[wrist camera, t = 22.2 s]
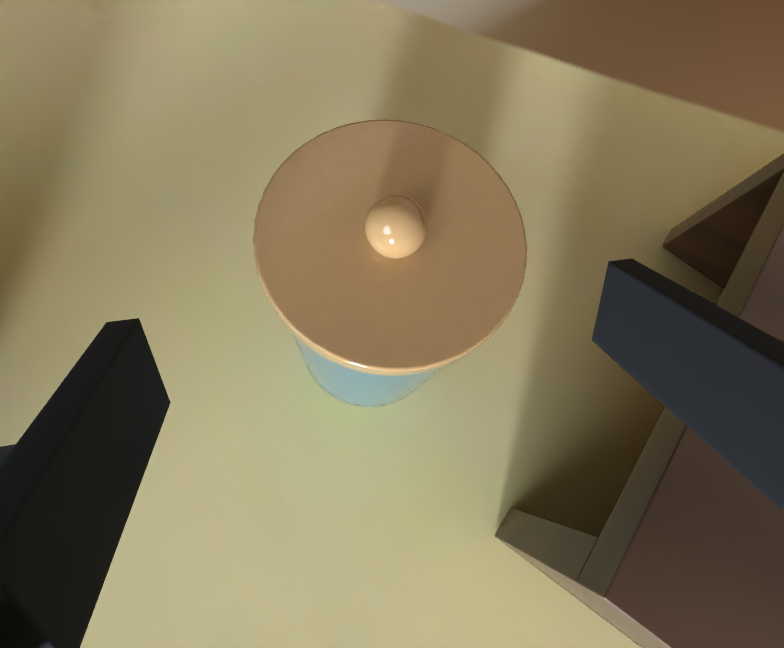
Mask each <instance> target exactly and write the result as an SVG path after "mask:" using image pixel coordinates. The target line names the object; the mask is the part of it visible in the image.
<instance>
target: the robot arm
mask: <svg viewBox="0 0 784 648" xmlns="http://www.w3.org/2000/svg"><path fill="white" fill-rule="evenodd" d="M592 341H593V342H594V343H596V344H597V345H598V346H599V347H600V348H601V349H602V350H603V351H604V352H606V353H607V354H608V355H609V356H610V357H611V358H612V359H613V360H614V361H616V362H617V363H618V364H619V365H620V366H621V367H622V368H623V369H624V370H626V371H627V372H628V373H629V374H630V375H631V376H632V377H633V378H634V379H636V380H637V381H638V382H639V383H640V384H641V385H642V386H643V387H644V388H646V389H647V390H648V391H649V392H650V393H651V394H652V395H653V396H654V397H656V398H657V399H658V400H659V401H660V402H661V403H662V404H663V405H664V406H666V407H667V408H668V409H669V410H670V411H671V412H672V413H673V414H674V415H676V416H677V417H678V418H679V419H680V420H681V421H682V422H683V423H684V424H686V425H687V426H688V427H689V428H690V429H691V430H692V431H693V432H694V433H696V434H697V435H698V436H699V437H700V438H701V439H702V440H703V441H704V442H706V443H707V444H708V445H709V446H710V447H711V448H712V449H713V450H714V451H716V452H717V453H718V454H719V455H720V456H721V457H722V458H723V459H724V460H726V461H727V462H728V463H729V464H730V465H731V466H732V467H733V468H734V469H736V470H737V471H738V472H739V473H740V474H741V475H742V476H743V477H745V478H746V479H747V480H748V481H749V482H750V483H751V484H752V485H753V486H755V487H756V488H757V489H758V490H759V491H760V492H761V493H762V494H763V495H765V496H766V497H767V498H768V499H769V500H770V501H771V502H772V503H773V504H775V505H776V506H777V507H778V508H779V509H780V510H784V341H783V340H781V339H778V338H776V337H773V336H771V335H769V334H767V333H766V332H764V331H762V330H760V329H758V328H757V327H755V326H753V325H751V324H749V323H748V322H746V321H744V320H742V319H740V318H739V317H737V316H735V315H733V314H731V313H729V312H728V311H726V310H724V309H722V308H720V307H719V306H717V305H715V304H713V303H711V302H710V301H708V300H706V299H704V298H702V297H701V296H699V295H697V294H695V293H693V292H691V291H690V290H688V289H686V288H684V287H682V286H681V285H679V284H677V283H675V282H673V281H672V280H670V279H668V278H666V277H664V276H663V275H661V274H659V273H657V272H655V271H653V270H652V269H650V268H648V267H646V266H644V265H643V264H641V263H639V262H637V261H635V260H634V259H625V260H617V261H609V263H608V267H607V272H606V276H605V281H604V286H603V290H602V295H601V300H600V304H599V309H598V314H597V318H596V323H595V328H594V332H593V337H592ZM169 405H170V400H169V398H168V395H167V392H166V390H165V387H164V384H163V381H162V379H161V376H160V373H159V371H158V368H157V365H156V363H155V360H154V357H153V355H152V352H151V349H150V347H149V344H148V341H147V339H146V336H145V333H144V331H143V328H142V325H141V322H140V320H139V318H137V319H129V320H121V321H113V322H106V324H105V325H104V326H103V328H102V329H101V331H100V332H99V333H98V335H97V336H96V337H95V339H94V340H93V341H92V343H91V344H90V345H89V347H88V348H87V349H86V351H85V352H84V353H83V355H82V356H81V358H80V359H79V360H78V362H77V363H76V364H75V366H74V367H73V368H72V370H71V371H70V372H69V374H68V375H67V376H66V378H65V379H64V380H63V382H62V383H61V384H60V386H59V387H58V389H57V390H56V391H55V393H54V394H53V395H52V397H51V398H50V399H49V401H48V402H47V403H46V405H45V406H44V407H43V409H42V410H41V411H40V413H39V414H38V415H37V417H36V418H35V420H34V421H33V422H32V424H31V425H30V426H29V428H28V429H27V430H26V432H25V433H24V434H23V436H22V437H21V438H20V440H19V441H18V442H17V444H16V445H9V446H3V447H0V648H80V646H81V643H82V640H83V637H84V635H85V632H86V629H87V627H88V624H89V621H90V618H91V616H92V613H93V610H94V608H95V605H96V602H97V600H98V597H99V594H100V591H101V589H102V586H103V583H104V581H105V578H106V575H107V572H108V570H109V567H110V564H111V562H112V559H113V556H114V554H115V551H116V548H117V545H118V543H119V540H120V537H121V535H122V532H123V529H124V527H125V524H126V521H127V518H128V516H129V513H130V510H131V508H132V505H133V502H134V499H135V497H136V494H137V491H138V489H139V486H140V483H141V481H142V478H143V475H144V472H145V470H146V467H147V464H148V462H149V459H150V456H151V454H152V451H153V448H154V445H155V443H156V440H157V437H158V435H159V432H160V429H161V426H162V424H163V421H164V418H165V416H166V413H167V410H168V408H169Z"/></svg>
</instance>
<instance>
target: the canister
mask: <svg viewBox="0 0 784 648" xmlns="http://www.w3.org/2000/svg"><path fill="white" fill-rule="evenodd" d="M253 246H254V258H255V262H256V267H257V272H258V275H259V278H260V280H261V283H262V286H263V288H264V291H265V293H266V295H267V297H268V299H269V300H270V302H271V304H272V306H273V308H274V310H275V311H276V313H277V315H278V316H279V317H280V319H281V320H282V321H283V323H284V324H285V325H286V327H287V328H288V329H289V330H290V331H291V332H292V334H293V336H294V338H295V341H296V343H297V345H298V347H299V350H300V352H301V354H302V357H303V359H304V361H305V363H306V366H307V368H308V370H309V371H310V373H311V375H312V376H313V378H314V379H315V380H316V382H317V383H318V384H319V385H320V386H321V387H322V388H323V389H324V390H326V391H327V392H328V393H329V394H331V395H332V396H334V397H336V398H337V399H340V400H342V401H344V402H347V403H350V404H354V405H359V406H381V405H386V404H390V403H393V402H396V401H398V400H400V399H402V398H404V397H406V396H407V395H409V394H410V393H411V392H413V391H414V390H415V389H417V388H418V387H419V386H420V385H421V384H422V383H424V382H425V381H426V380H427V379H428V378H429V377H431V376H432V375H433V374H434V373H435V372H436V371H438V370H439V369H440V368H441V367H443V366H446V365H448V364H450V363H453V362H455V361H457V360H458V359H460V358H462V357H463V356H465V355H467V354H468V353H470V352H471V351H472V350H474V349H475V348H476V347H477V346H479V345H480V344H481V343H483V342H484V341H485V340H486V339H488V338H489V337H490V336H491V335H492V334H493V333H494V332H495V331H496V329H497V328H498V327H499V326H500V325H501V324H502V322H503V321H504V320H505V318H506V317H507V315H508V314H509V313H510V311H511V309H512V307H513V305H514V303H515V301H516V299H517V297H518V295H519V292H520V289H521V286H522V283H523V279H524V273H525V268H526V253H527V247H526V237H525V230H524V226H523V221H522V217H521V215H520V212H519V209H518V207H517V204H516V202H515V200H514V198H513V196H512V194H511V192H510V190H509V188H508V187H507V185H506V184H505V183H504V181H503V180H502V178H501V177H500V175H499V174H498V173H497V172H496V171H495V170H494V169H493V167H492V166H491V165H490V164H489V163H488V162H487V161H486V160H485V159H483V158H482V157H481V156H480V155H479V154H478V153H477V152H475V151H474V150H473V149H471V148H470V147H468V146H467V145H465V144H464V143H463V142H461V141H459V140H457V139H455V138H453V137H452V136H450V135H448V134H445V133H443V132H441V131H438V130H436V129H433V128H430V127H427V126H423V125H420V124H416V123H410V122H404V121H394V120H370V121H363V122H356V123H351V124H347V125H344V126H340V127H337V128H334V129H332V130H329V131H327V132H324V133H322V134H320V135H318V136H317V137H315V138H313V139H311V140H309V141H308V142H306V143H305V144H304V145H302V146H301V147H300V148H298V149H297V150H296V151H294V152H293V153H292V154H291V155H290V156H289V157H288V158H287V159H286V160H285V161H284V162H283V163H282V164H281V166H280V167H279V168H278V170H277V171H276V172H275V173H274V175H273V176H272V178H271V180H270V181H269V183H268V185H267V187H266V188H265V190H264V193H263V195H262V198H261V200H260V203H259V205H258V209H257V213H256V217H255V222H254V233H253Z"/></svg>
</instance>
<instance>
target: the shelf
mask: <svg viewBox="0 0 784 648" xmlns="http://www.w3.org/2000/svg"><path fill="white" fill-rule="evenodd" d="M663 247H664V248H665V249H667V250H668V251H670V252H671V253H673V254H674V255H675V256H677V257H678V258H680V259H681V260H683V261H684V262H686V263H687V264H689V265H690V266H692V267H693V268H695V269H696V270H698V271H699V272H701V273H702V274H704V275H705V276H707V277H708V278H710V279H711V280H713V281H714V282H716V283H717V284H719V285H720V286H722V287H723V288H725V289H724V291H723V293H722V295H721V297H720V299H719V301H718V303H717V306H719V307H720V308H722V309H724V310H726V311H728V312H729V313H731V314H733V315H735V316H737V317H739V318H740V319H742V320H744V321H746V322H748V323H749V324H751V325H753V326H755V327H757V328H758V329H760V330H762V331H764V332H766V333H767V334H769V335H771V336H773V337H776V338H778V339H781V340H783V341H784V154H782V155H781V156H779V157H778V158H776V159H775V160H773V161H772V162H770V163H769V164H768V165H766V166H765V167H763V168H762V169H760V170H759V171H757V172H756V173H754V174H753V175H751V176H750V177H748V178H747V179H745V180H744V181H742V182H741V183H739V184H738V185H736V186H735V187H733V188H732V189H730V190H729V191H727V192H726V193H725V194H723V195H722V196H720V197H719V198H717V199H716V200H714V201H713V202H711V203H710V204H708V205H707V206H705V207H704V208H702V209H701V210H699V211H698V212H696V213H695V214H693V215H692V216H690V217H689V218H687V219H686V220H685V221H683V222H682V223H680V224H679V225H677V226H676V227H674V228H673V229H672V230H671V232H670V234H669V235H668V237H667V239H666V241H665V242H664V244H663ZM495 537H496V538H498V539H499V540H500V541H502V542H503V543H504V544H506V545H507V546H508V547H510V548H511V549H512V550H513V551H515V552H516V553H517V554H519V555H520V556H521V557H523V558H524V559H525V560H527V561H528V562H529V563H531V564H532V565H533V566H535V567H536V568H537V569H539V570H540V571H541V572H543V573H544V574H545V575H546V576H548V577H549V578H550V579H552V580H553V581H554V582H556V583H557V584H558V585H560V586H561V587H562V588H564V589H565V590H566V591H568V592H569V593H570V594H572V595H573V596H574V597H576V598H577V599H578V600H580V601H581V602H582V603H583V604H585V605H586V606H587V607H589V608H590V609H591V610H593V611H594V612H595V613H597V614H598V615H599V616H601V617H602V618H603V619H605V620H606V621H607V622H609V623H610V624H611V625H613V626H614V627H615V628H617V629H618V630H619V631H620V632H622V633H623V634H624V635H626V636H627V637H628V638H630V639H631V640H632V641H634V642H635V643H636V644H638V645H639V646H640V647H642V648H784V510H780V509H779V508H778V507H777V506H776V505H775V504H773V503H772V502H771V501H770V500H769V499H768V498H767V497H766V496H765V495H763V494H762V493H761V492H760V491H759V490H758V489H757V488H756V487H755V486H753V485H752V484H751V483H750V482H749V481H748V480H747V479H746V478H745V477H743V476H742V475H741V474H740V473H739V472H738V471H737V470H736V469H734V468H733V467H732V466H731V465H730V464H729V463H728V462H727V461H726V460H724V459H723V458H722V457H721V456H720V455H719V454H718V453H717V452H716V451H714V450H713V449H712V448H711V447H710V446H709V445H708V444H707V443H706V442H704V441H703V440H702V439H701V438H700V437H699V436H698V435H697V434H696V433H694V432H693V431H692V430H691V429H690V428H689V427H688V426H687V425H686V424H684V423H683V422H682V421H681V420H680V419H679V418H678V417H677V416H676V415H674V414H673V413H672V412H671V411H670V410H669V409H668V408H667V407H666V406H665V408H664V410H663V412H662V414H661V416H660V418H659V419H658V421H657V423H656V425H655V427H654V429H653V431H652V433H651V435H650V437H649V439H648V441H647V443H646V445H645V447H644V449H643V451H642V453H641V455H640V457H639V459H638V461H637V463H636V465H635V467H634V469H633V471H632V473H631V475H630V477H629V479H628V481H627V483H626V485H625V487H624V489H623V491H622V493H621V495H620V497H619V499H618V501H617V503H616V505H615V507H614V509H613V511H612V513H611V514H610V516H609V518H608V520H607V522H606V524H605V526H604V528H603V530H602V532H601V534H600V536H599V538H598V537H595V536H593V535H590V534H587V533H584V532H581V531H578V530H575V529H572V528H569V527H566V526H563V525H560V524H557V523H555V522H552V521H549V520H546V519H543V518H540V517H537V516H534V515H531V514H528V513H525V512H522V511H519V510H517V509H514V508H510V510H509V512H508V513H507V515H506V517H505V519H504V520H503V522H502V524H501V525H500V527H499V529H498V531H497V532H496V534H495Z"/></svg>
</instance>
